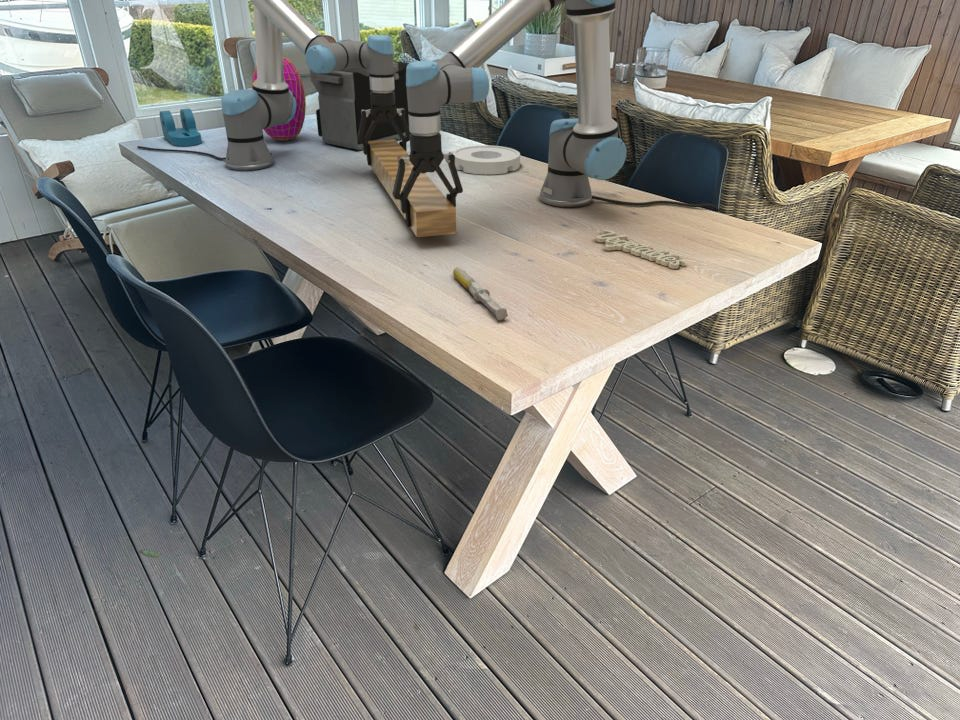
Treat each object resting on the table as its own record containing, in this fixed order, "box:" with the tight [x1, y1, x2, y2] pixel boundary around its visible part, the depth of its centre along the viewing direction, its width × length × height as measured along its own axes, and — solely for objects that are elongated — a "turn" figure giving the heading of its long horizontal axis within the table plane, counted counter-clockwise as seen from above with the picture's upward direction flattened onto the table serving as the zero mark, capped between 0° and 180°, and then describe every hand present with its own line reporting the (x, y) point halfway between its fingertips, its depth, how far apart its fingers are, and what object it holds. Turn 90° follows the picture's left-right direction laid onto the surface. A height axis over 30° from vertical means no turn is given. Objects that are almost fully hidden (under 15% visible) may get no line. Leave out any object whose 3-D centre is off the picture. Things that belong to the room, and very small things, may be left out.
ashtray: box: [451, 144, 521, 176], centre depth 235 cm, size 23×23×4 cm
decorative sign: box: [595, 229, 686, 270], centre depth 168 cm, size 26×1×10 cm
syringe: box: [452, 266, 509, 321], centre depth 145 cm, size 25×4×3 cm, turn 21°
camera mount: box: [159, 108, 203, 147], centre depth 259 cm, size 18×10×10 cm, turn 35°
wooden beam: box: [365, 139, 457, 238], centre depth 197 cm, size 74×10×6 cm, turn 17°
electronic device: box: [309, 60, 411, 151], centre depth 260 cm, size 37×22×30 cm, turn 144°
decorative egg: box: [251, 56, 307, 142], centre depth 257 cm, size 19×19×30 cm
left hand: (385, 163), depth 222 cm, fingers closed on wooden beam, 10 cm apart
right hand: (429, 222), depth 174 cm, fingers closed on wooden beam, 10 cm apart
